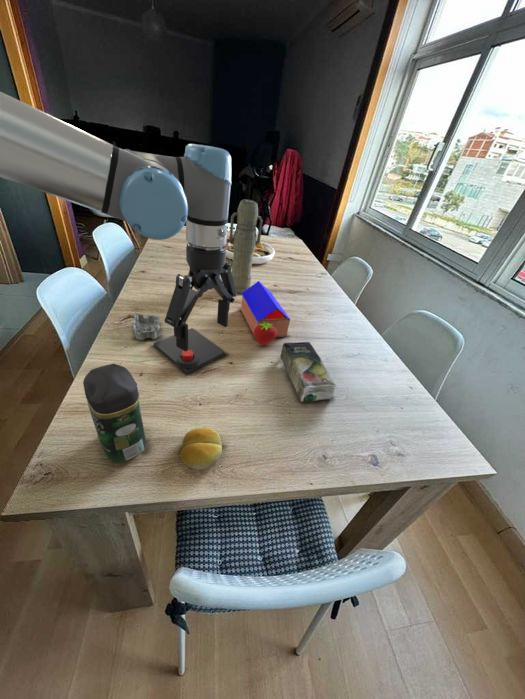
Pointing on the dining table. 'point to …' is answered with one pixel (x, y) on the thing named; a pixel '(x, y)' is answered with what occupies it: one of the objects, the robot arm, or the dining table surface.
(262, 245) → the bowl
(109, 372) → the coffee jar
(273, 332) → the strawberry
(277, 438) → the dining table surface
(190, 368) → the red button pad
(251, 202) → the thermos
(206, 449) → the bread roll
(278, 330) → the house
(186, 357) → the power button
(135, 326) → the egg carton
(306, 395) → the juice carton
